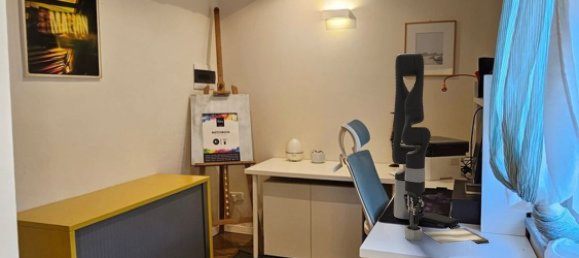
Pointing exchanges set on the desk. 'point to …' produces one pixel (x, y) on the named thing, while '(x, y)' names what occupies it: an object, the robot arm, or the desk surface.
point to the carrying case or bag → (440, 220)
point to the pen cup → (413, 234)
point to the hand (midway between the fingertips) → (413, 222)
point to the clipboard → (455, 236)
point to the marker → (412, 226)
